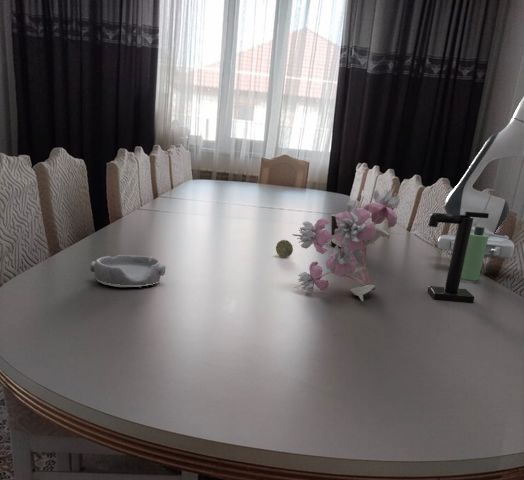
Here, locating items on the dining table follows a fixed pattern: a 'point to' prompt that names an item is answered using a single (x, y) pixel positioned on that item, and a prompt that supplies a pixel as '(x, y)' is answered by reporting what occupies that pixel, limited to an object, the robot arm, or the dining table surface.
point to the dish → (128, 270)
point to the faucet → (455, 256)
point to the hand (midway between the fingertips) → (474, 250)
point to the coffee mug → (333, 227)
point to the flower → (348, 241)
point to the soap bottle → (474, 254)
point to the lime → (284, 248)
